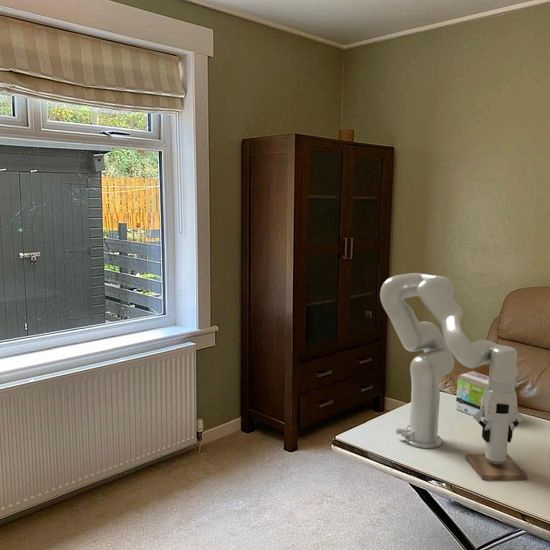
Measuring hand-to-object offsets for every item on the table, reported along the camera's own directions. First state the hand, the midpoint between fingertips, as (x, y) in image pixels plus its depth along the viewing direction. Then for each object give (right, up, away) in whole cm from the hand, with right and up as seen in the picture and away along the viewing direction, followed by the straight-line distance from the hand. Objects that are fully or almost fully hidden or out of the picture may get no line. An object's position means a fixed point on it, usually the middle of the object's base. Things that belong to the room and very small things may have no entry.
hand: (496, 440), depth 176 cm
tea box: (+11, -3, +46) cm, 48 cm away
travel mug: (0, -7, +1) cm, 7 cm away
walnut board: (0, -9, +1) cm, 10 cm away
